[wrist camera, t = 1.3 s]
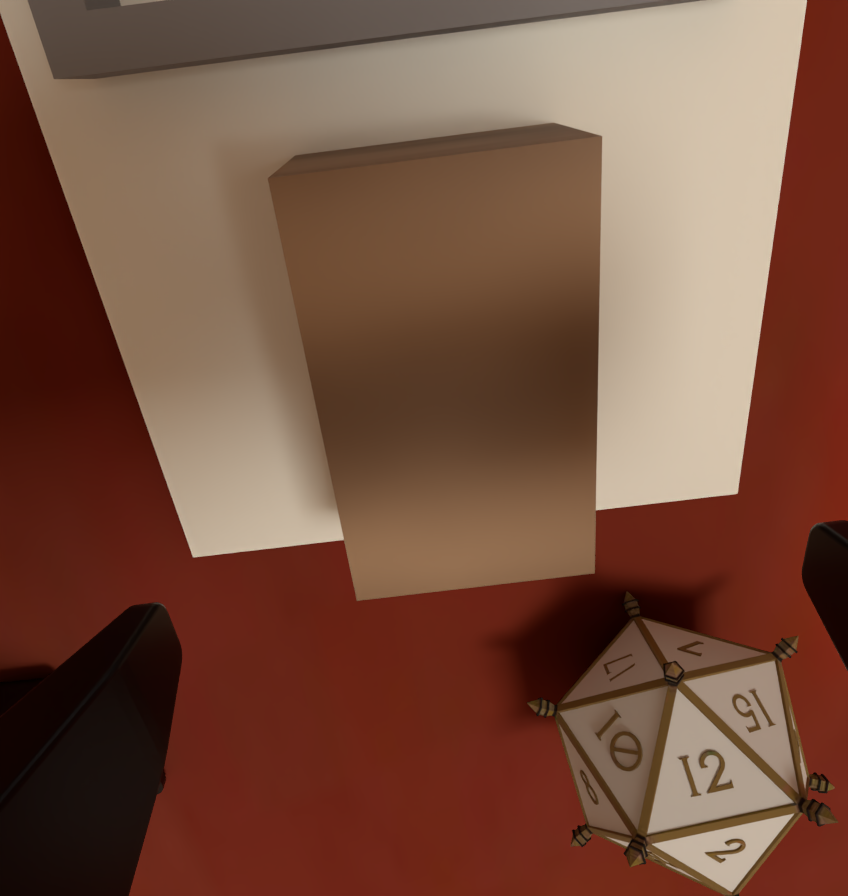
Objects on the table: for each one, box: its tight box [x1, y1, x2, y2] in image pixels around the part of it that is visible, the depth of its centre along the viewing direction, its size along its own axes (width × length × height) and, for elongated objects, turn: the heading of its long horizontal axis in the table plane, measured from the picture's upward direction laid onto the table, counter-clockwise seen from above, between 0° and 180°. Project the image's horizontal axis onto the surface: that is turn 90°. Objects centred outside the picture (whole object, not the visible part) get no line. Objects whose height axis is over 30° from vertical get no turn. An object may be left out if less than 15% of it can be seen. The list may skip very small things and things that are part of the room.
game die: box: [527, 591, 838, 896], centre depth 21 cm, size 9×8×10 cm
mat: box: [0, 0, 807, 557], centre depth 15 cm, size 23×17×3 cm
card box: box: [268, 123, 602, 601], centre depth 16 cm, size 10×6×4 cm, turn 6°
